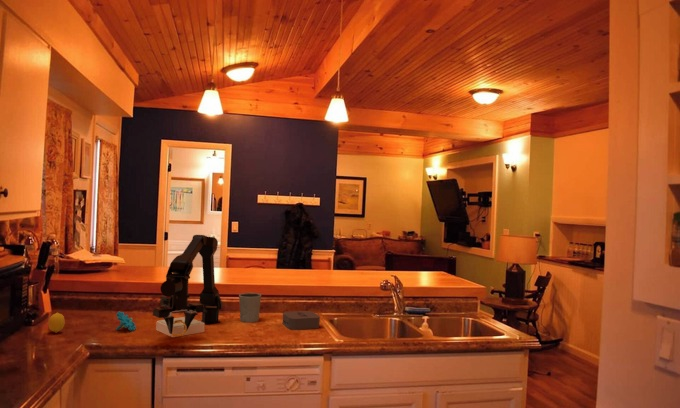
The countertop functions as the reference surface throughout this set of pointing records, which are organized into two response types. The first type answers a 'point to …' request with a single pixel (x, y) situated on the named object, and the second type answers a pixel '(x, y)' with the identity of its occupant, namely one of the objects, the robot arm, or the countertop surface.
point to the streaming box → (301, 320)
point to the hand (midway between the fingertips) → (178, 332)
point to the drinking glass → (249, 307)
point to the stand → (180, 327)
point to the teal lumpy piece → (125, 321)
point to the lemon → (56, 322)
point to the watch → (179, 322)
